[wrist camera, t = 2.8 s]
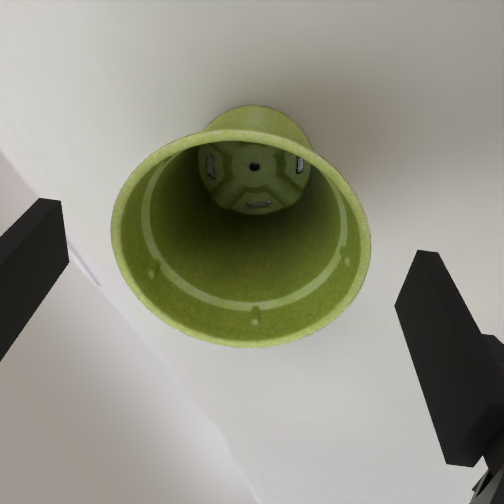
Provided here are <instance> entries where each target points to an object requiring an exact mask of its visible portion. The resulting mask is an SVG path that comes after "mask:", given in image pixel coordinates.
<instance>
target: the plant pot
mask: <svg viewBox="0 0 504 504" xmlns="http://www.w3.org/2000/svg"><path fill="white" fill-rule="evenodd" d="M209 154H210V155H212V156H213V169H214V172H215V176H216V177H215V178H214V179H212V178H211V177H210V176H209V175H208V172H207V166H206V159H207V156H208V155H209ZM296 155H297V156H298V157H300V158H302V159H303V163H304V164H303V170H302V172H301V173H300V174H297V173H296V164H297V157H296ZM251 163H257V164H259V169H258V170H257V171H252V170H250V168H249V166H250V164H251ZM268 201H270V202H271V204H270V205H269V206H266V207H258V208H254V207H250V206H248V205H247V202H257V203H261V202H263V203H264V202H268ZM111 241H112V248H113V252H114V255H115V259H116V262H117V265H118V267H119V270H120V272H121V274H122V276H123V278H124V280H125V282H126V283H127V285H128V287H129V288H130V289H131V291H132V292H133V294H134V295H135V296H136V297H137V298H138V299H139V300H140V301H141V303H142V304H143V305H144V306H145V307H146V308H148V310H149V311H151V312H152V313H153V314H154V315H155V316H157V317H158V318H159V319H161V320H162V321H164V322H165V323H167V324H168V325H169V326H171V327H172V328H174V329H176V330H178V331H180V332H182V333H184V334H186V335H189V336H191V337H194V338H196V339H199V340H203V341H206V342H209V343H213V344H218V345H223V346H229V347H235V348H264V347H271V346H277V345H281V344H285V343H289V342H292V341H296V340H298V339H300V338H304V337H306V336H309V335H311V334H312V333H314V332H316V331H318V330H320V329H321V328H323V327H325V326H326V325H328V324H329V323H331V322H332V321H333V320H335V319H336V318H337V317H338V316H339V315H340V314H341V313H342V312H343V311H344V310H345V309H346V308H347V307H348V306H349V305H350V304H351V302H352V301H353V300H354V298H355V297H356V295H357V294H358V292H359V290H360V289H361V287H362V285H363V282H364V280H365V277H366V274H367V271H368V268H369V263H370V258H371V235H370V229H369V225H368V221H367V218H366V215H365V212H364V210H363V207H362V205H361V203H360V201H359V199H358V197H357V196H356V194H355V192H354V191H353V189H352V187H351V186H350V185H349V183H348V182H347V181H346V179H345V178H344V177H343V176H342V175H341V174H340V173H339V171H338V170H337V169H336V168H334V167H333V166H332V165H331V164H330V163H329V162H328V161H327V160H325V159H324V158H323V157H322V156H320V155H319V154H317V153H316V152H314V150H313V148H312V146H311V144H310V142H309V140H308V139H307V137H306V135H305V133H304V132H303V131H302V129H301V128H300V127H299V126H298V125H297V124H296V123H295V122H294V121H293V120H291V119H290V118H289V117H287V116H286V115H285V114H283V113H281V112H279V111H277V110H275V109H272V108H268V107H263V106H243V107H239V108H235V109H232V110H229V111H227V112H225V113H223V114H221V115H220V116H218V117H217V118H216V119H214V120H213V121H212V122H211V123H210V124H209V125H208V126H207V127H206V128H205V129H204V130H203V131H202V132H199V133H195V134H191V135H188V136H185V137H182V138H180V139H177V140H175V141H173V142H171V143H168V144H167V145H165V146H163V147H162V148H160V149H159V150H157V151H155V152H154V153H152V154H151V155H150V156H149V157H148V158H146V159H145V160H144V161H143V162H142V163H141V164H140V165H139V166H138V167H137V168H136V169H135V170H134V171H133V172H132V174H131V175H130V176H129V178H128V179H127V180H126V182H125V183H124V185H123V187H122V188H121V190H120V192H119V194H118V197H117V199H116V202H115V205H114V209H113V213H112V219H111Z"/></svg>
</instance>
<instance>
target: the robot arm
mask: <svg viewBox="0 0 504 504" xmlns="http://www.w3.org/2000/svg"><path fill="white" fill-rule="evenodd" d="M68 263H69V257H68V249H67V242H66V235H65V228H64V221H63V213H62V206H61V201H58V200H51V199H44V198H39V199H38V200H37V201H36V202H35V203H34V204H33V205H32V206H31V207H30V208H29V209H28V210H27V211H26V212H25V213H24V214H23V215H22V216H21V217H20V218H19V219H18V220H17V221H16V222H15V223H14V224H13V225H12V226H11V227H10V228H9V229H8V230H7V231H6V232H5V233H4V234H3V235H2V236H1V237H0V361H1V360H2V358H3V357H4V356H5V354H6V353H7V351H8V350H9V348H10V347H11V345H12V344H13V342H14V341H15V340H16V338H17V337H18V335H19V334H20V333H21V331H22V330H23V328H24V327H25V325H26V324H27V322H28V321H29V319H30V318H31V317H32V315H33V314H34V312H35V311H36V310H37V308H38V307H39V305H40V304H41V302H42V301H43V299H44V298H45V297H46V295H47V294H48V292H49V291H50V289H51V288H52V286H53V285H54V284H55V282H56V281H57V279H58V278H59V276H60V275H61V274H62V272H63V271H64V269H65V268H66V266H67V265H68ZM394 306H395V309H396V312H397V315H398V318H399V321H400V324H401V327H402V330H403V333H404V337H405V340H406V343H407V346H408V349H409V352H410V355H411V358H412V361H413V364H414V367H415V370H416V373H417V376H418V379H419V382H420V385H421V388H422V391H423V394H424V397H425V400H426V403H427V407H428V410H429V413H430V416H431V419H432V422H433V425H434V428H435V431H436V434H437V437H438V440H439V443H440V446H441V449H442V452H443V455H444V458H445V461H446V464H449V465H458V466H466V467H474V466H475V465H476V463H477V462H478V461H479V460H480V458H481V457H482V456H483V457H484V459H485V461H486V464H487V466H488V470H487V471H486V473H485V474H484V475H483V476H482V478H481V479H480V480H479V481H478V483H477V484H476V485H475V486H474V488H473V489H472V490H473V491H474V492H475V493H474V495H473V497H472V499H471V501H470V503H469V504H504V344H502V343H501V342H500V341H499V340H498V339H497V338H496V337H495V336H494V335H486V334H481V332H480V330H479V328H478V326H477V324H476V323H475V321H474V319H473V317H472V315H471V313H470V311H469V310H468V308H467V306H466V304H465V302H464V300H463V298H462V296H461V295H460V293H459V291H458V289H457V287H456V285H455V283H454V282H453V280H452V278H451V276H450V274H449V272H448V270H447V269H446V267H445V265H444V263H443V261H442V259H441V257H440V255H439V254H438V253H437V252H430V251H423V250H417V252H416V255H415V257H414V260H413V262H412V264H411V267H410V269H409V272H408V274H407V276H406V279H405V281H404V284H403V286H402V288H401V291H400V293H399V296H398V298H397V301H396V303H395V305H394Z"/></svg>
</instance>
